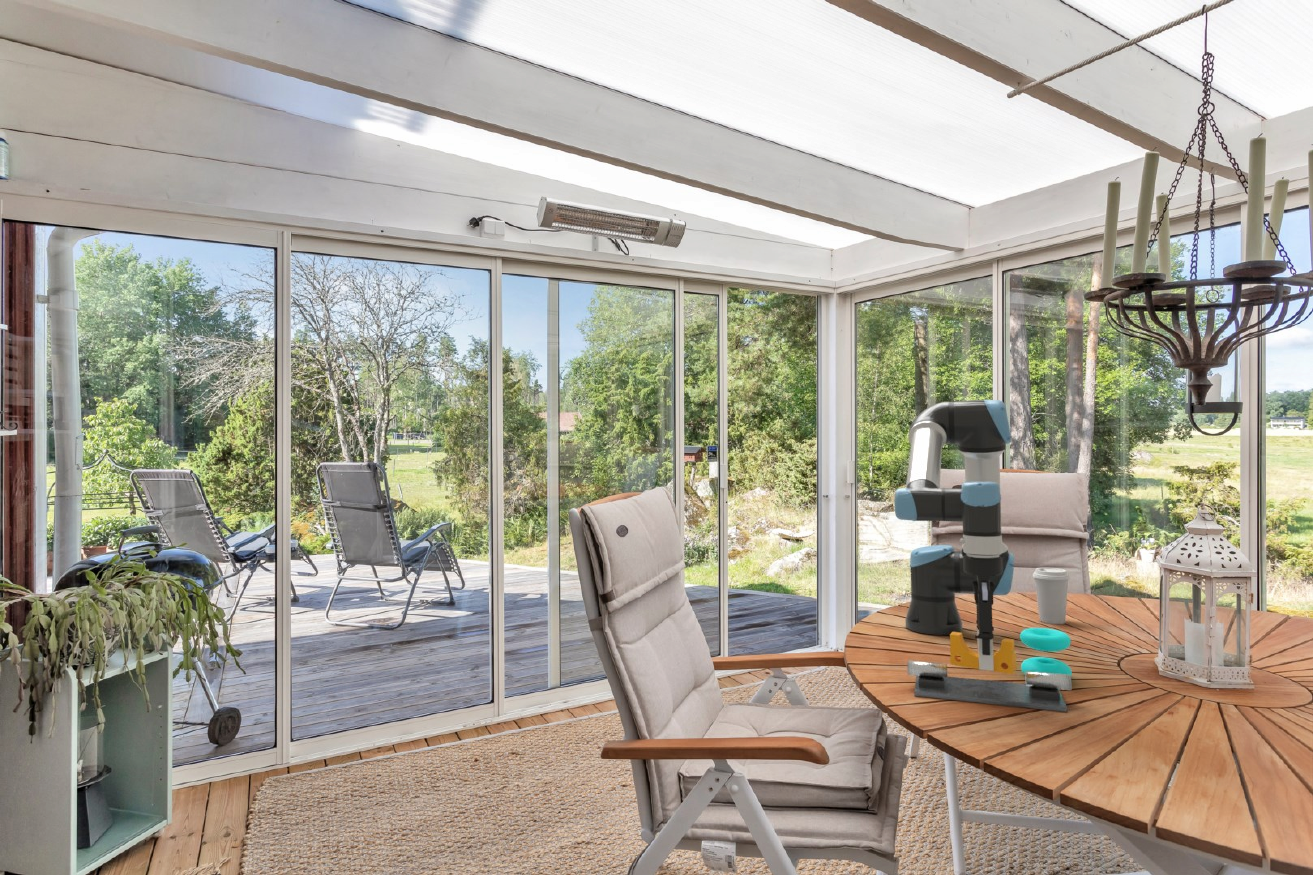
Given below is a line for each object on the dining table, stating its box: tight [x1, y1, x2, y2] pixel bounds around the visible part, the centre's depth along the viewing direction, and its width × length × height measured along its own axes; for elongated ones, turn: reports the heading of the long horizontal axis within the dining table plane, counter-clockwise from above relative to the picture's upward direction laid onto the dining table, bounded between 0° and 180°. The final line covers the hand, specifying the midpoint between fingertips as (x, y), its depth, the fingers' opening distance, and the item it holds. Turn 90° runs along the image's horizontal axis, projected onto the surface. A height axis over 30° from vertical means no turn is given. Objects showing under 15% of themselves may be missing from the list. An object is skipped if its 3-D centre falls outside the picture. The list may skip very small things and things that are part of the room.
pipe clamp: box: [949, 632, 1017, 675], centre depth 148 cm, size 12×4×6 cm, turn 54°
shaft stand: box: [907, 659, 1072, 713], centre depth 148 cm, size 12×31×6 cm, turn 68°
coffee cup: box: [1032, 567, 1071, 625], centre depth 205 cm, size 10×10×15 cm
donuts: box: [1019, 627, 1073, 677], centre depth 158 cm, size 10×10×10 cm
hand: (985, 665), depth 148 cm, fingers closed on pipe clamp, 5 cm apart
